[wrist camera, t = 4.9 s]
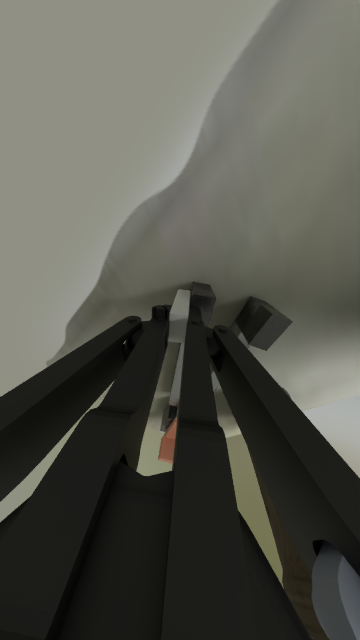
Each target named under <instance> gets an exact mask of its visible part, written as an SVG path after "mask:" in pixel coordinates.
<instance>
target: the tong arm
mask: <svg viewBox="0 0 360 640" xmlns="http://www.w3.org/2000/svg"><path fill="white" fill-rule="evenodd" d="M215 300H216V297H215V295H214V293H213V291H212V288H211V286H210V285H208V284H202V283H197V282H193V285H192V290H191V295H190V301H189V307H196V308H199V309H200V310H201V316H202V321H203V322H204V325H205V326H206V327H207V326H208V323H209V319H210V316H211V313H212V310H213V306H214V303H215ZM183 352H184V343H181V344H180V348H179V353H178V358H177V363H176V368H175V373H174V378H173V383H172V388H171V393H170V399H169V405H173V406H179V395H180V385H181V375H182V364H183Z"/></svg>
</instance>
